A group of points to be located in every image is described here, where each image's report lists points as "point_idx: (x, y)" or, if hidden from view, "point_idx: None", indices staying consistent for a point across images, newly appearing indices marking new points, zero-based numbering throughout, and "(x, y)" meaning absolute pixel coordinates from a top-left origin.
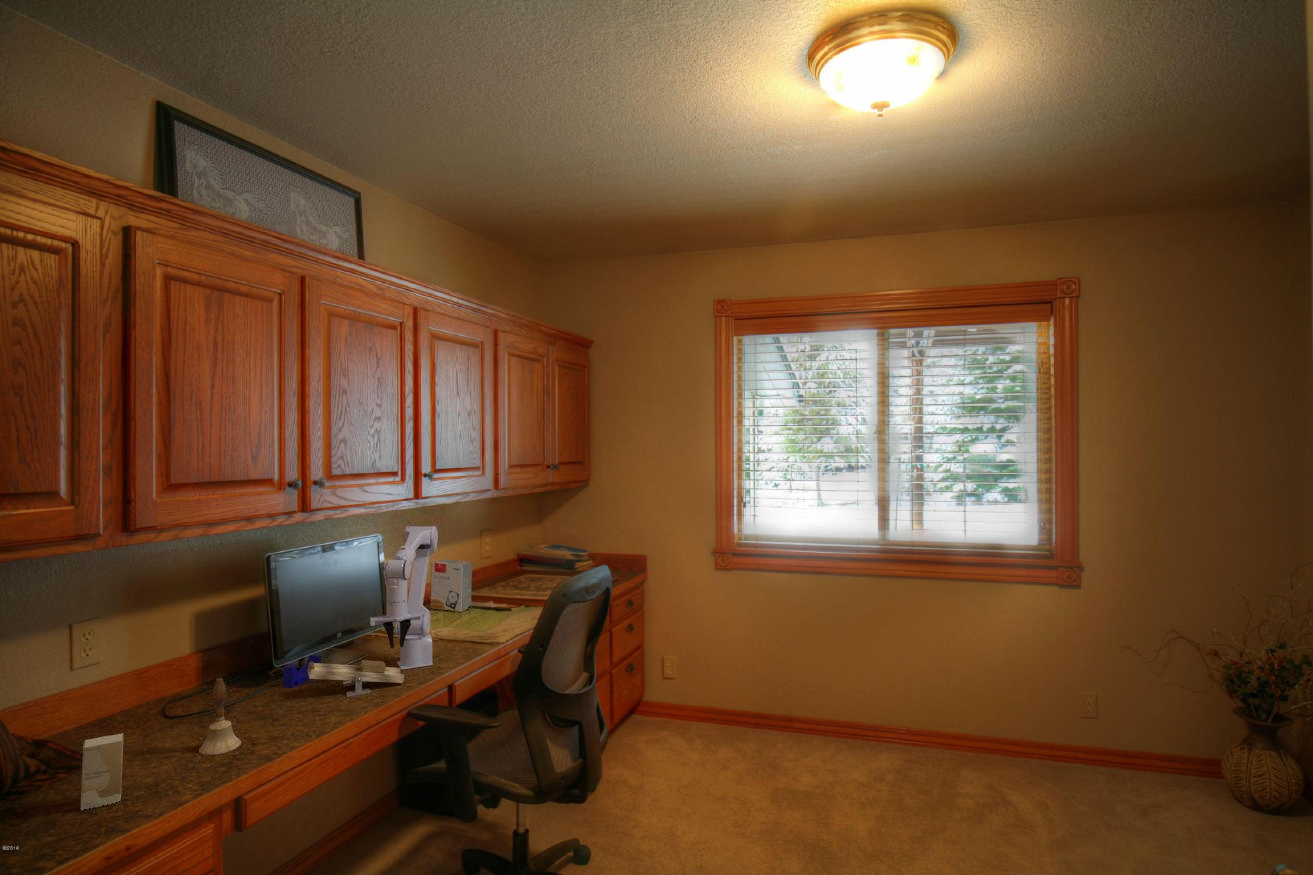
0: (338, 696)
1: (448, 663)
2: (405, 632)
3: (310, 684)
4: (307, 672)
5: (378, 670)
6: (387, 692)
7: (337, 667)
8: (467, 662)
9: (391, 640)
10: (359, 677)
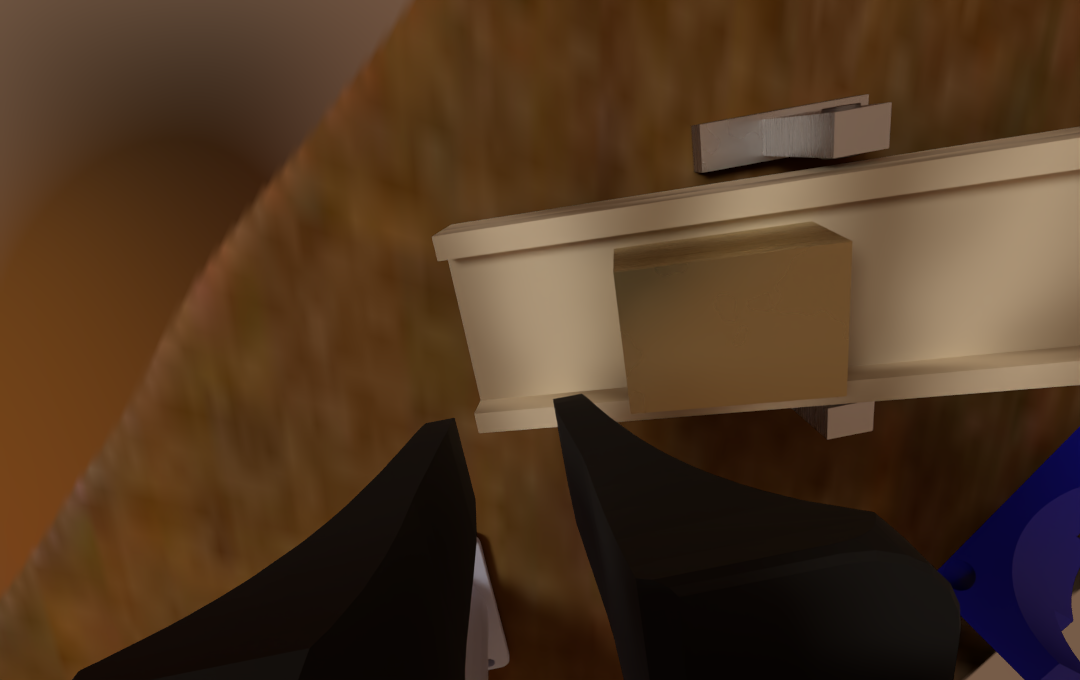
0: (904, 132)
1: (164, 588)
2: (323, 550)
3: (1009, 429)
4: (1033, 558)
5: (671, 251)
6: (566, 91)
7: (1020, 356)
8: (18, 578)
9: (609, 429)
10: (851, 108)
